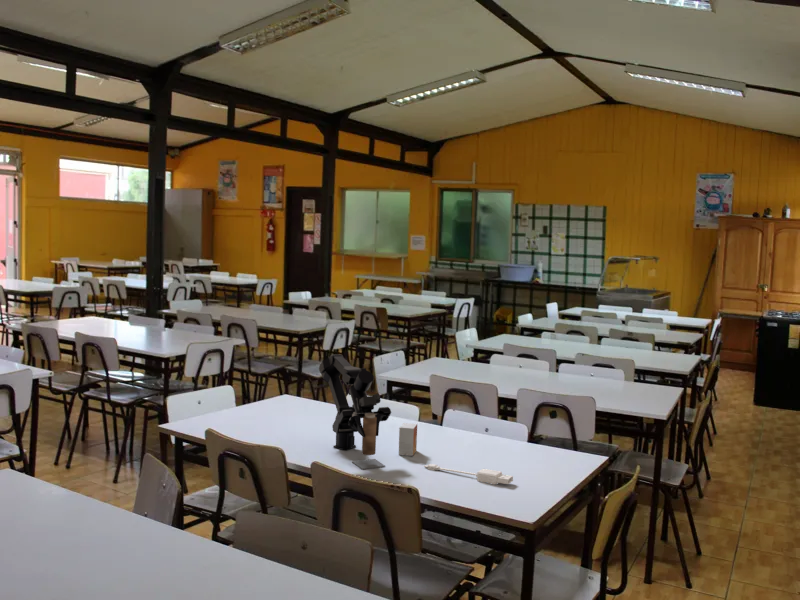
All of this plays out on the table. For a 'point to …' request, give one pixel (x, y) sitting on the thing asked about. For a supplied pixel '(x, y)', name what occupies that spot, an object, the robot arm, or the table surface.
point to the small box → (407, 439)
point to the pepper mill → (369, 434)
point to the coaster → (368, 464)
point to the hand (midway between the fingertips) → (370, 436)
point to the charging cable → (480, 475)
